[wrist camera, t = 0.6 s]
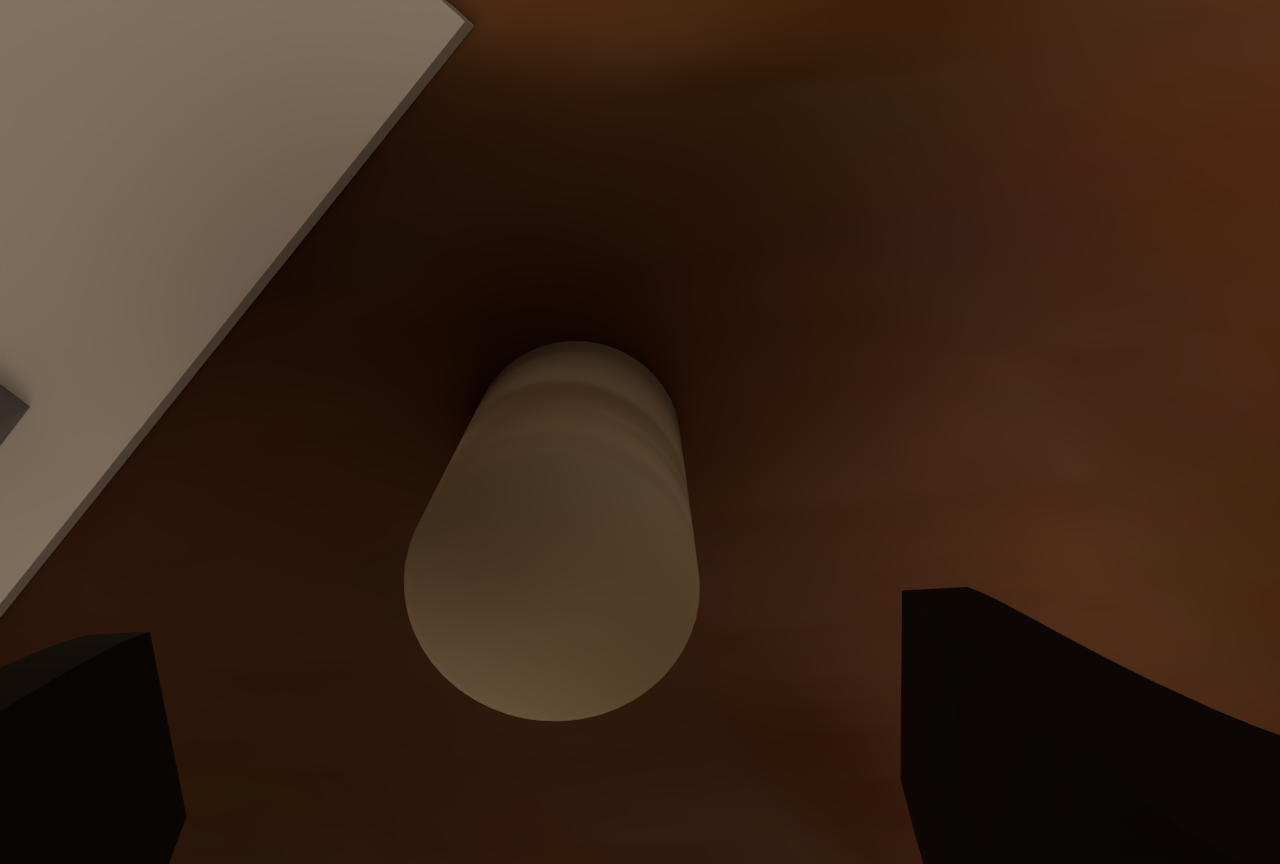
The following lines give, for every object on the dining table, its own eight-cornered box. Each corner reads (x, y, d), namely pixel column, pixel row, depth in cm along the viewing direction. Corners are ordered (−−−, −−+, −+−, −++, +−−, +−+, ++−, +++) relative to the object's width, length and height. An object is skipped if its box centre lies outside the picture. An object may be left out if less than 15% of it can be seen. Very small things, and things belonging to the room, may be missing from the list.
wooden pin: (587, 577, 20) (567, 773, 14) (430, 450, 19) (344, 601, 14) (723, 434, 19) (760, 578, 13) (565, 296, 19) (534, 387, 13)
